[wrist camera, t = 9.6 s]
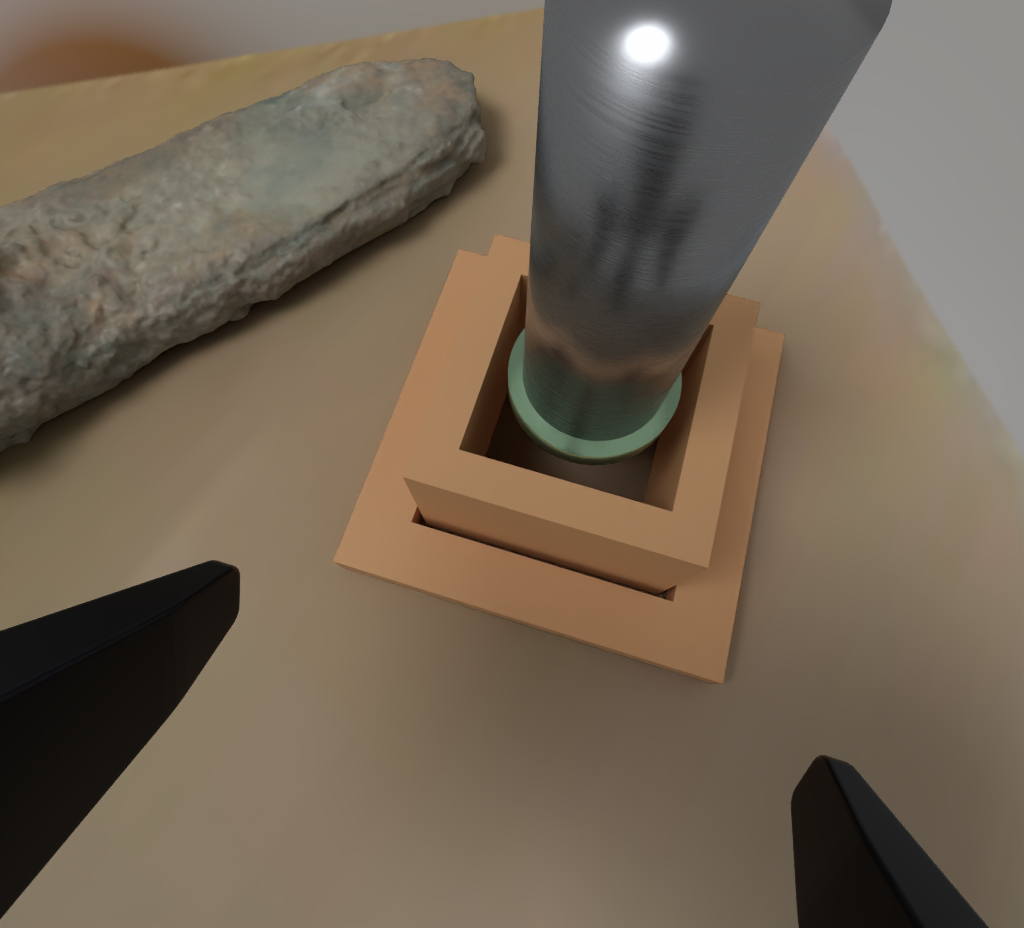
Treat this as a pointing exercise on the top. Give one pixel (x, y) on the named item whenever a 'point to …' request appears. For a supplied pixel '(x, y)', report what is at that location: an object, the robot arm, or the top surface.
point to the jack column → (659, 193)
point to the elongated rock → (217, 225)
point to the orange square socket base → (569, 487)
